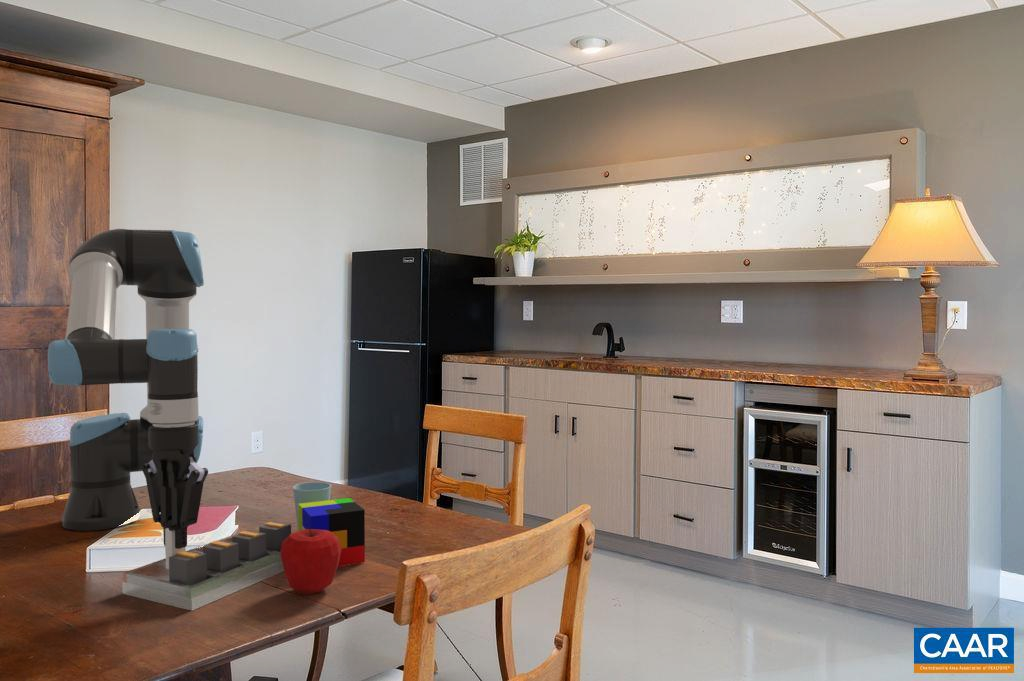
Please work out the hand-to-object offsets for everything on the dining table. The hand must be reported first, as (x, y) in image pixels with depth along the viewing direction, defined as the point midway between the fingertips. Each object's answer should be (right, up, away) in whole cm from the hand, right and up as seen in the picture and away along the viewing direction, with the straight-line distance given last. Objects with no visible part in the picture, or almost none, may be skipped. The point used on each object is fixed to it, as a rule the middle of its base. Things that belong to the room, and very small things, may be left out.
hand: (175, 566), depth 129 cm
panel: (+4, -5, +9) cm, 11 cm away
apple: (+22, -5, +3) cm, 22 cm away
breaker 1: (+2, -3, -1) cm, 4 cm away
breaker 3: (+9, -2, +10) cm, 14 cm away
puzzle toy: (+21, -5, +20) cm, 29 cm away
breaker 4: (+11, -2, +16) cm, 20 cm away
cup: (+14, -4, +35) cm, 37 cm away
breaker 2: (+6, -3, +5) cm, 8 cm away
